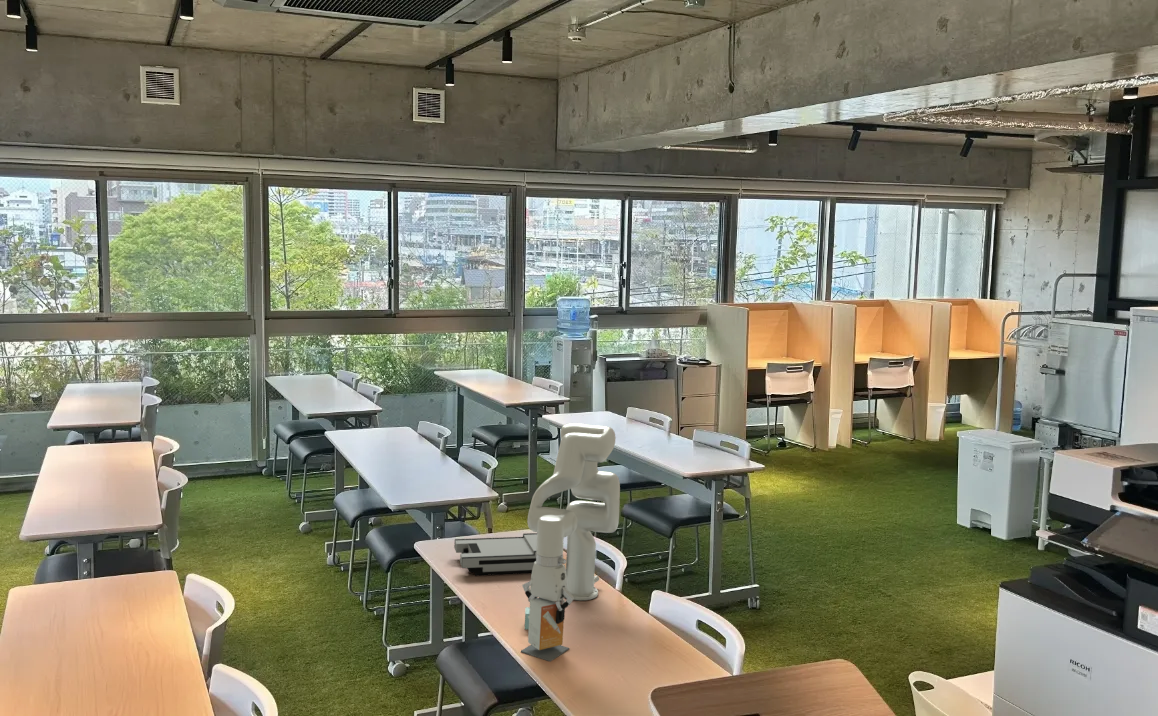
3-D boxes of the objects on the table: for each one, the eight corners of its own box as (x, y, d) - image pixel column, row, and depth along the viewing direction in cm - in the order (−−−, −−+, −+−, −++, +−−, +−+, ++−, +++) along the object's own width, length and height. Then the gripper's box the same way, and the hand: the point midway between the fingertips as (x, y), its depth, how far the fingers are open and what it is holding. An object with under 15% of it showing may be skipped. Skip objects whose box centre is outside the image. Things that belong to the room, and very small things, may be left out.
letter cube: (524, 622, 293) (525, 607, 293) (541, 623, 293) (541, 607, 293) (524, 629, 288) (525, 613, 287) (541, 630, 288) (541, 614, 288)
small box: (539, 651, 269) (541, 606, 267) (527, 642, 274) (529, 599, 273) (563, 645, 274) (565, 601, 272) (551, 636, 279) (553, 594, 277)
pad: (540, 640, 281) (540, 638, 281) (569, 649, 276) (569, 647, 276) (520, 652, 273) (520, 650, 272) (550, 661, 267) (550, 660, 267)
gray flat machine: (454, 557, 348) (454, 535, 347) (540, 554, 356) (541, 532, 355) (461, 578, 328) (462, 555, 327) (552, 574, 336) (553, 551, 335)
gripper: (582, 562, 269) (579, 621, 272) (531, 549, 278) (528, 606, 281) (568, 569, 263) (565, 630, 265) (516, 556, 272) (514, 615, 274)
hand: (546, 618), depth 273 cm, fingers closed on small box, 8 cm apart
